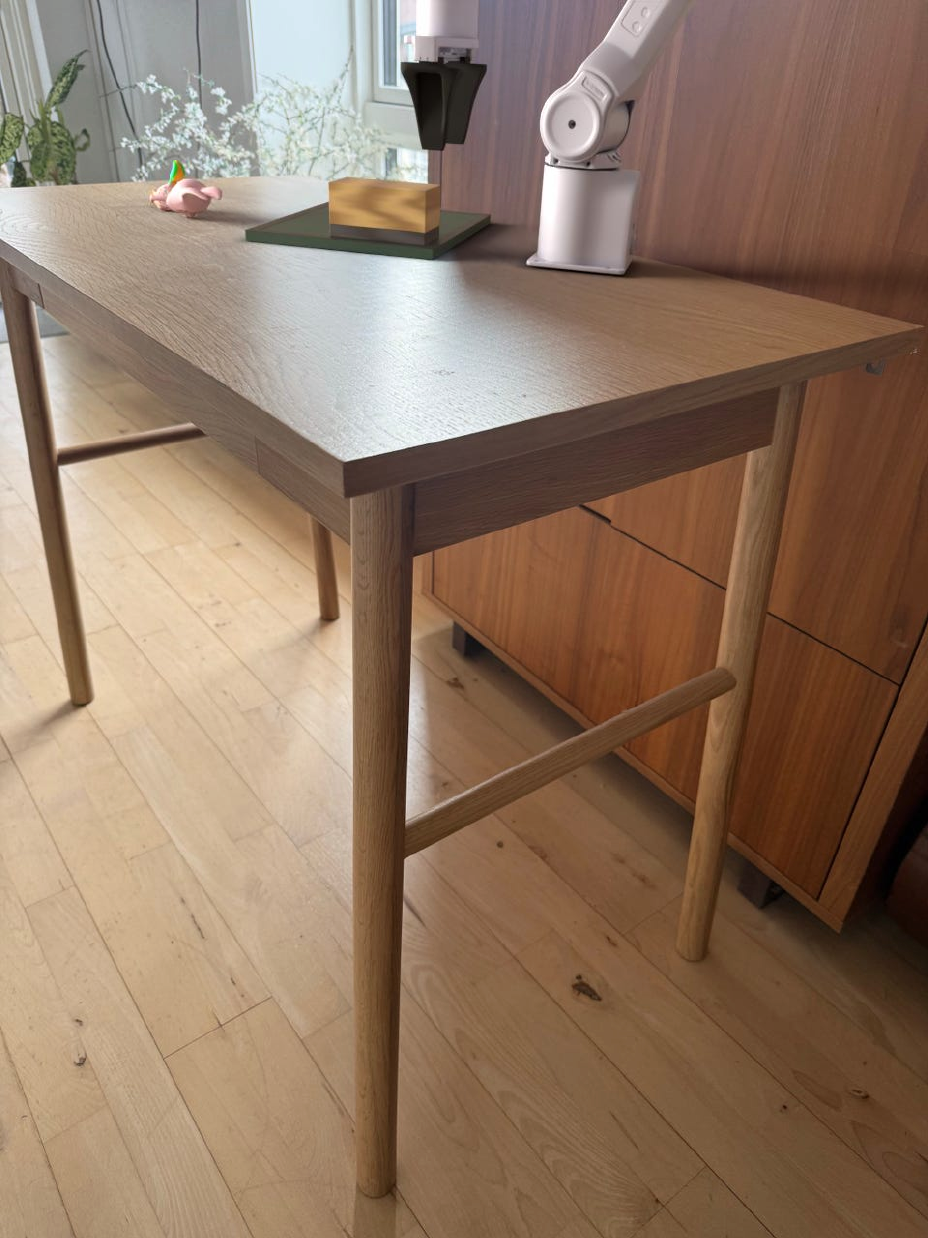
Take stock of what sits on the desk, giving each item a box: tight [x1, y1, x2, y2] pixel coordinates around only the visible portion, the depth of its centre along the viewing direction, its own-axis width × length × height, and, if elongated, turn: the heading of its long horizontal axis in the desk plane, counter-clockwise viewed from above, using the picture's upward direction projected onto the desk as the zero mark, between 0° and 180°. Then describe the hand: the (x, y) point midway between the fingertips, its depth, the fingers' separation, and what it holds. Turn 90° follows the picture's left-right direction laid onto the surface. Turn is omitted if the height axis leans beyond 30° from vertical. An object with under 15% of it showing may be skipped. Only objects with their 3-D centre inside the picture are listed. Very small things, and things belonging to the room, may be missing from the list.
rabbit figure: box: [149, 159, 223, 218], centre depth 104 cm, size 6×6×15 cm
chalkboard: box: [244, 201, 492, 261], centre depth 103 cm, size 20×24×1 cm
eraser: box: [328, 176, 442, 246], centre depth 93 cm, size 10×5×5 cm, turn 75°
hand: (443, 146), depth 92 cm, fingers open, 7 cm apart
